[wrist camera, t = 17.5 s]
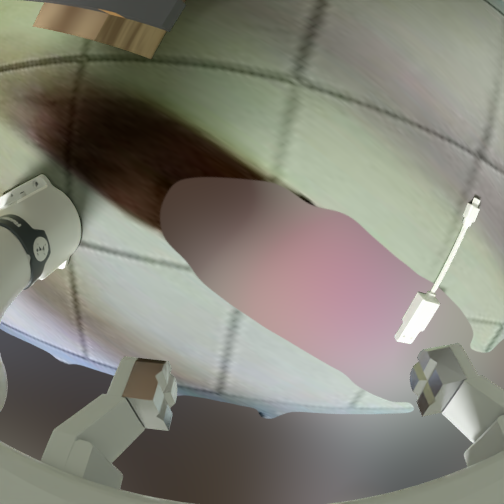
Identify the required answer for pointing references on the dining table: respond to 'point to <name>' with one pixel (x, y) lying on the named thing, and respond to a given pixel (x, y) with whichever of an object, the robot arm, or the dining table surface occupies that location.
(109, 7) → the bar
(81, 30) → the stand
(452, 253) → the charging cable
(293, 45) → the dining table surface
